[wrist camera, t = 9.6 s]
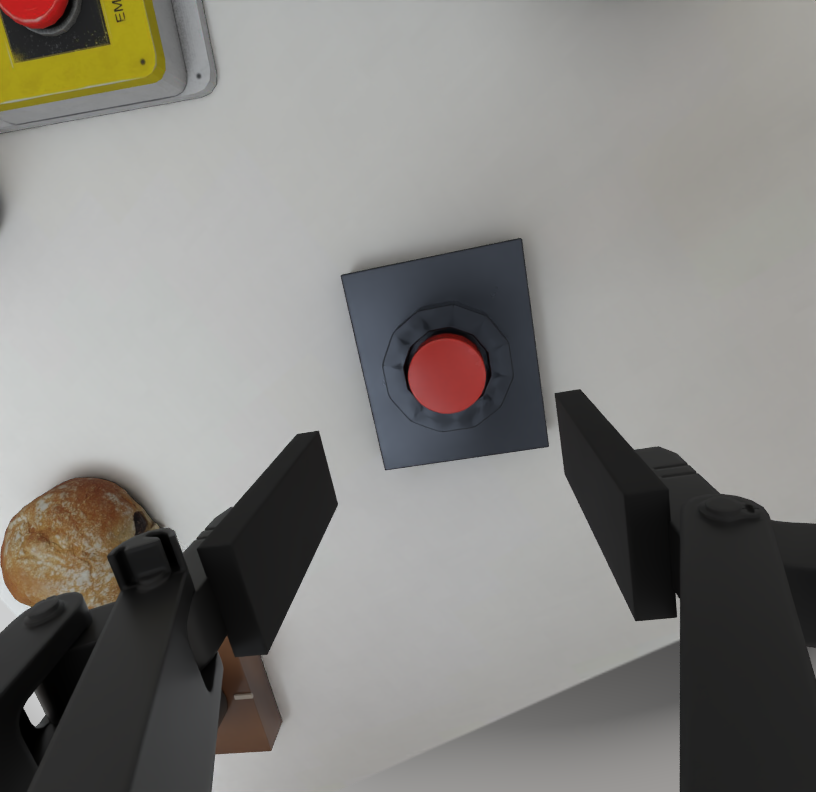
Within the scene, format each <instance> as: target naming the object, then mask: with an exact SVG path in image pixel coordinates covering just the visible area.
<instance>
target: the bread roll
mask: <svg viewBox="0 0 816 792" xmlns="http://www.w3.org/2000/svg"><path fill="white" fill-rule="evenodd" d="M155 529H160V527H159V526H158V525H157V523H154V522H153V521H152V519H151V518H150V517H149V516H148V514H147V513H146V512H145V510H144V509H143V508H142V507H141V506H140V505H139V504H138V503H137V502H136V501H135V500H134V499H133V498H131V497H130V496H129V494H128V493H127V491H126V490H124V489H123V488H121V487H120V486H118V485H117V484H115V483H114V482H111V481H108V480H104V479H98V478H74V479H71V480H68V481H65V482H63V483H61V484H59V485H57V486H56V487H54V488H52V489H51V490H49V491H48V492H46V493H44V494H43V495H41V496H39V497H37V498H36V499H34V500H33V501H32V502H31V503H29V504H28V505H26V506H24V507H23V508H22V510H21V511H19V512H18V513H17V514H16V515H15V516H14V517H13V518H12V519H11V521H10V523H9V525H8V527H7V529H6V532H5V537H4V541H3V544H2V547H1V568H2V573H3V578H4V582H5V584H6V586H7V588H8V589H9V591H10V592H11V594H12V595H13V597H14V598H15V599H16V600H17V601H19V602H20V603H23V604H26V605H28V606H31V607H33V606H34V605H35V604H36V603H37V602H39V601H41V600H43V599H45V600H46V598H48V597H51V596H53V595H56V596H57V595H60V594H63V593H68V592H78V593H81V594H82V595H83V597H84V600H85V602H86V604H87V607H88V609H92V608H96V607H99V606H102V605H105V604H109V603H112V602H115V601H116V600H117V597H118V595H119V593H120V591H121V590H120V588H119V586H118V583H117V581H116V578H115V576H114V573H113V571H112V569H111V566H110V564H109V561H108V559H107V555H108V554H109V553H110V552H111V551H112V550H113V549H114V548H115V547H117V546H118V545H120V544H121V543H122V542H124V541H126V540H128V539H130V538H132V537H134V536H136V535H139V534H142V533H144V532H147V531H151V530H155Z"/></svg>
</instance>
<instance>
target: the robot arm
mask: <svg viewBox="0 0 816 792" xmlns="http://www.w3.org/2000/svg"><path fill="white" fill-rule="evenodd" d="M555 400H556V408H557V416H558V424H559V432H560V440H561V448H562V456H563V464H564V472H565V476H566V478H567V480H568V482H569V484H570V486H571V488H572V490H573V492H574V494H575V496H576V498H577V501H578V503H579V505H580V507H581V509H582V511H583V513H584V515H585V517H586V519H587V521H588V523H589V526H590V528H591V530H592V532H593V534H594V536H595V538H596V540H597V542H598V544H599V546H600V548H601V550H602V553H603V555H604V557H605V559H606V561H607V563H608V565H609V567H610V569H611V571H612V573H613V575H614V577H615V580H616V582H617V584H618V586H619V588H620V590H621V592H622V594H623V596H624V598H625V600H626V602H627V604H628V607H629V609H630V611H631V613H632V615H633V617H634V619H635V621H643V620H654V619H665V618H676V617H677V610H676V594H677V595H678V597H679V598H680V792H816V678H815V675H814V671H813V668H812V664H811V661H810V657H809V654H808V651H807V647H814V648H816V524H811V523H791V522H781V521H773V520H770V516H769V514H768V513H767V511H766V510H765V509H764V507H762V506H760V505H759V504H757V503H755V502H754V501H752V500H748V499H745V498H742V497H739V496H733V495H725V494H720V493H719V492H718V491H717V490H716V489H715V488H713V487H712V486H711V485H710V484H709V483H708V482H707V481H706V480H705V479H704V478H703V477H702V476H700V475H699V474H697V473H696V471H695V470H694V469H693V468H692V467H691V466H690V465H687V463H686V462H685V461H684V460H683V459H682V458H681V457H680V456H679V455H678V454H677V453H674V452H672V451H669V450H666V449H664V448H661V447H659V446H658V447H651V448H644V449H637V450H634V449H633V448H632V447H631V446H630V445H629V444H628V443H627V441H626V440H625V439H624V438H623V437H622V436H621V435H620V434H619V432H618V431H617V430H616V429H615V428H614V427H613V426H612V425H611V423H610V422H609V421H608V420H607V419H606V418H605V417H604V416H603V414H602V413H601V412H600V411H599V410H598V409H597V408H596V407H595V405H594V404H593V403H592V402H591V401H590V400H589V399H588V398H587V396H586V395H585V394H584V393H583V392H582V391H581V390H580V389H579V390H572V391H566V392H560V393H555ZM337 506H338V502H337V499H336V495H335V491H334V487H333V483H332V479H331V476H330V472H329V468H328V464H327V460H326V456H325V453H324V449H323V445H322V441H321V437H320V433H319V431H314V432H308V433H301V434H297V435H296V436H295V437H294V438H293V439H292V441H291V442H290V443H289V444H288V445H287V446H286V447H285V449H284V450H283V451H282V452H281V453H280V454H279V455H278V457H277V458H276V459H275V460H274V461H273V462H272V463H271V465H270V466H269V467H268V468H267V469H266V470H265V471H264V473H263V474H262V475H261V476H260V477H259V478H258V479H257V480H256V482H255V483H254V484H253V485H252V486H251V487H250V488H249V490H248V491H247V492H246V493H245V494H244V495H243V496H242V498H241V499H240V500H239V501H238V502H237V503H236V504H235V506H234V507H230V508H229V509H227V510H226V511H224V512H223V513H222V514H220V515H219V516H217V517H216V518H214V520H213V521H212V522H211V523H210V524H209V525H208V526H207V527H206V528H205V531H203V532H202V533H201V534H200V535H199V536H198V537H197V540H194V542H193V543H192V544H191V545H190V546H189V547H188V548H187V549H186V550H185V551H184V553H182V550H181V548H180V545H179V542H178V539H177V537H176V534H175V531H174V530H172V529H170V528H160V529H155V530H151V531H147V532H144V533H142V534H139V535H136V536H134V537H132V538H130V539H128V540H126V541H124V542H122V543H121V544H120V545H118V546H117V547H115V548H114V549H113V550H112V551H111V552H110V553H109V554H108V555H107V559H108V561H109V564H110V566H111V569H112V571H113V573H114V576H115V578H116V581H117V583H118V586H119V588H120V590H121V591H120V593H119V595H118V597H117V600H116V601H115V602H112V603H109V604H105V605H102V606H99V607H96V608H92V609H88V607H87V604H86V602H85V600H84V597H83V595H82V594H81V593H78V592H68V593H63V594H60V595H57V596H56V595H53V596H51V597H48V598H46V600H45V599H43V600H41V601H39V602H37V603H36V604H35V605H34V606H33V607H31V608H30V609H28V610H26V611H25V612H23V613H22V614H21V615H20V616H18V617H17V618H16V619H15V620H14V621H12V622H11V623H10V624H9V625H8V627H6V628H5V629H4V630H3V631H2V632H1V633H0V792H211V791H212V781H213V771H214V760H215V750H216V740H217V729H218V719H219V709H220V699H221V688H222V678H223V664H222V661H221V658H220V655H219V652H218V650H219V648H220V646H221V645H222V643H223V641H224V640H225V638H226V636H227V637H228V639H229V642H230V645H231V648H232V651H233V654H234V656H235V657H245V656H256V655H267V654H268V652H269V650H270V648H271V646H272V644H273V642H274V639H275V637H276V635H277V633H278V631H279V629H280V627H281V625H282V622H283V620H284V618H285V616H286V614H287V612H288V610H289V608H290V605H291V603H292V601H293V599H294V597H295V595H296V593H297V591H298V588H299V586H300V584H301V582H302V580H303V578H304V576H305V574H306V571H307V569H308V567H309V565H310V563H311V561H312V559H313V557H314V555H315V552H316V550H317V548H318V546H319V544H320V542H321V540H322V538H323V535H324V533H325V531H326V529H327V527H328V525H329V523H330V521H331V518H332V516H333V514H334V512H335V510H336V508H337ZM675 592H676V594H675ZM806 646H807V647H806ZM33 692H35V694H36V696H37V698H38V700H39V702H40V704H41V706H42V707H43V710H44V712H45V714H46V715H45V717H44V718H43V719H42V721H41V722H40V724H38V725H37V726H36V727H35V726H33V725H32V724H31V722H30V720H29V718H28V716H27V714H26V712H25V710H24V709H23V707H24V705H25V703H26V701H27V700H28V698H29V697H30V696H31V695H32V694H33Z"/></svg>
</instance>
